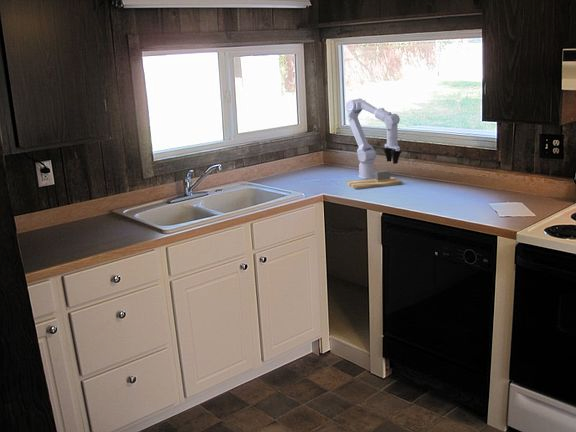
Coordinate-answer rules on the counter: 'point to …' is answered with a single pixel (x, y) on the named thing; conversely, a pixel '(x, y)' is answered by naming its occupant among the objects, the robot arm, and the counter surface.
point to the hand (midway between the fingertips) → (392, 162)
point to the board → (373, 183)
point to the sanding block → (382, 175)
